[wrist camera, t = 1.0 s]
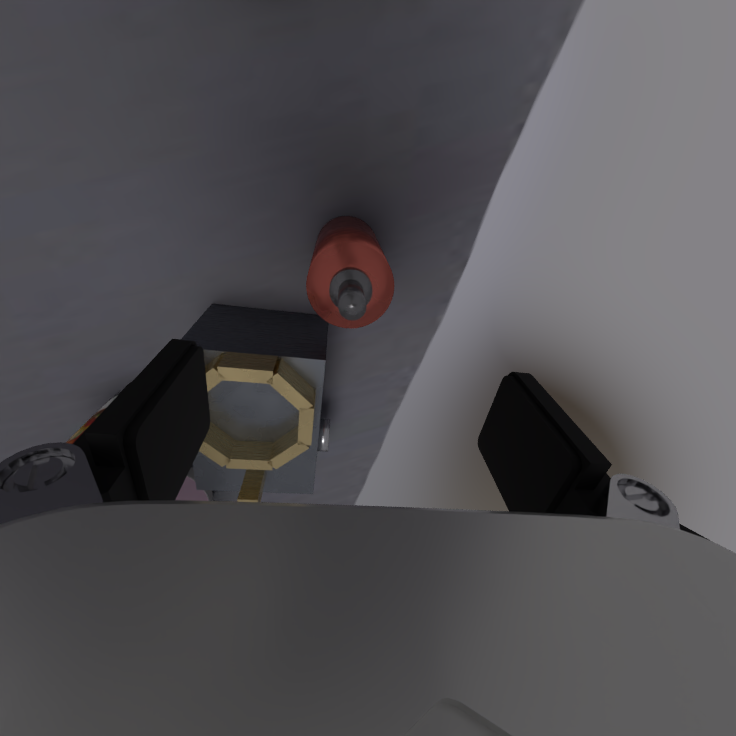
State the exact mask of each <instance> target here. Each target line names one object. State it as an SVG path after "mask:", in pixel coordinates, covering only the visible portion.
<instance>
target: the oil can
mask: <svg viewBox="0 0 736 736" xmlns="http://www.w3.org/2000/svg"><path fill="white" fill-rule="evenodd" d="M306 289H307V295H308V298H309V301H310V303H311V305H312V307H313V309H314V310H315V311H316V313H317V314H318V315H319V316H320V317H321V318H322V319H324V320H325V321H327V322H328V323H330V324H332V325H335V326H338V327H342V328H359V327H363V326H366V325H368V324H370V323H372V322H374V321H376V320H377V319H378V318H379V317H381V316H382V315H383V313H384V312H385V311H386V310H387V308H388V307H389V305H390V303H391V300H392V297H393V293H394V278H393V274H392V271H391V268H390V266H389V264H388V262H387V260H386V258H385V256H384V253H383V251H382V249H381V247H380V245H379V243H378V241H377V239H376V237H375V234H374V232H373V231H372V229H371V228H370V227H369V226H368V225H367V224H366V223H365V222H364V221H362V220H360V219H358V218H356V217H352V216H341V217H337V218H334V219H333V220H331V221H329V222H328V223H327V224H326V225H325V226H324V227H323V228H322V229H321V231H320V233H319V235H318V238H317V242H316V246H315V249H314V253H313V257H312V261H311V264H310V268H309V272H308V276H307V282H306Z"/></svg>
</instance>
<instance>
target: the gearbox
mask: <svg viewBox="0 0 736 736" xmlns="http://www.w3.org/2000/svg"><path fill="white" fill-rule="evenodd" d="M327 332H328V322H327V321H325V320H324V319H322V318H321V317H320V316H319V315H313V314H303V313H294V312H284V311H275V310H265V309H256V308H246V307H237V306H227V305H218V304H211V306H210V307H209V308H208V309H207V310H206V311H205V312H204V314H203V315H202V316H201V317H200V318H199V319H198V320H197V322H196V323H195V324H194V325H193V326H192V327H191V328H190V330H189V331H188V332H187V333H186V334H185V335H184V336H183V338H182V339H181V340H189V341H195V342H196V344H197V346H200V347H202V348H203V352H204V361H205V371H206V381H207V391H208V401H209V411H210V427H209V430H208V433H207V435H206V437H205V439H204V441H203V443H202V445H201V447H200V450H199V452H198V454H197V456H196V458H195V460H194V462H193V470H194V476H195V483H196V489H197V490H216V491H240V493H239V496H238V499H237V500H238V502H260V501H261V497H262V492H271V493H299V494H313V490H314V479H315V468H316V458H317V451H328V444H329V432H330V420H329V419H320V415H321V405H322V394H323V383H324V373H325V362H326V347H327Z"/></svg>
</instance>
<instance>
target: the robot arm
mask: <svg viewBox="0 0 736 736" xmlns="http://www.w3.org/2000/svg"><path fill="white" fill-rule="evenodd" d="M209 427H210V411H209V401H208V391H207V381H206V371H205V361H204V352H203V348H202V347H200V346H197V344H196V342H195V341H189V340H179V339H172V340H171V341H170V342H169V343H168V344H167V345H166V346H165V347H164V348H163V349H162V350H161V351H160V352H159V353H158V355H157V356H156V357H155V358H154V359H153V360H152V361H151V362H150V363H149V364H148V365H147V366H146V367H145V369H144V370H143V371H142V372H141V373H140V374H139V375H138V376H137V377H136V378H135V379H134V380H133V381H132V382H131V383H129V384H128V385H127V386H126V387H125V388H124V389H123V390H122V392H121V393H120V394H119V395H118V396H117V397H116V398H115V399H114V400H113V401H112V402H111V403H110V404H109V405H108V406H107V408H106V409H105V410H104V411H103V412H102V413H101V414H100V415H99V416H98V417H97V418H96V419H95V420H94V421H93V422H92V424H91V425H90V426H89V427H88V428H87V429H86V430H85V431H84V432H83V433H82V434H81V435H80V436H79V437H78V439H77V440H76V441H75V442H74V443H73V444H70V443H62V442H58V443H47V444H42V445H38V446H34V447H31V448H28V449H25V450H23V451H20V452H18V453H16V454H14V455H12V456H10V457H8V458H7V459H5V460H3V461H2V462H1V463H0V736H736V553H734V552H732V551H730V550H728V549H726V548H724V547H722V546H720V545H718V544H716V543H714V542H712V541H710V540H708V539H707V538H704V537H703V536H701V535H699V534H697V533H696V532H694V531H692V530H690V529H688V528H686V527H684V526H683V525H681V524H679V518H678V513H677V510H676V507H675V506H674V504H673V503H672V502H671V500H670V499H669V498H668V497H667V496H666V495H665V494H664V493H663V492H662V491H660V490H659V489H657V488H656V487H655V486H653V485H652V484H650V483H648V482H646V481H644V480H642V479H640V478H637V477H635V476H631V475H627V474H617V475H614V476H612V477H611V478H610V477H609V476H608V475H607V473H606V472H607V471H608V469H609V468H610V467H611V465H612V464H611V463H610V462H609V461H608V460H607V459H606V457H605V456H604V455H603V454H602V453H601V452H600V451H599V450H598V449H597V448H596V446H595V445H594V444H593V443H592V442H591V441H590V440H589V438H588V437H587V436H586V435H585V434H584V433H583V432H582V431H581V430H580V428H578V426H577V425H576V424H575V423H574V422H573V421H572V419H571V418H570V417H569V416H568V415H567V414H566V413H565V412H564V411H563V410H562V408H561V407H560V406H559V405H558V404H557V403H556V402H555V400H554V399H553V398H552V397H551V396H550V395H549V394H548V393H547V392H546V390H545V389H544V388H543V387H542V386H541V385H540V384H539V383H538V381H537V380H536V379H535V378H534V377H533V376H532V375H531V374H529V373H519V372H511V373H510V374H509V375H508V376H505V377H504V378H503V379H502V382H501V384H500V386H499V389H498V391H497V393H496V396H495V398H494V401H493V403H492V406H491V408H490V411H489V413H488V415H487V418H486V420H485V423H484V425H483V428H482V430H481V433H480V435H479V438H478V447H479V450H480V452H481V454H482V456H483V458H484V460H485V462H486V464H487V466H488V468H489V470H490V473H491V474H492V477H493V478H494V481H495V483H496V485H497V487H498V489H499V491H500V493H501V495H502V497H503V499H504V501H505V503H506V506H507V508H508V510H509V512H508V511H486V510H463V509H437V508H412V507H384V506H357V505H328V504H296V503H265V502H232V501H192V500H176V497H177V495H178V493H179V491H180V489H181V487H182V485H183V483H184V481H185V479H186V477H187V475H188V472H189V470H190V468H191V466H192V464H193V462H194V460H195V458H196V456H197V454H198V452H199V450H200V447H201V445H202V443H203V441H204V439H205V437H206V435H207V433H208V430H209Z"/></svg>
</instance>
